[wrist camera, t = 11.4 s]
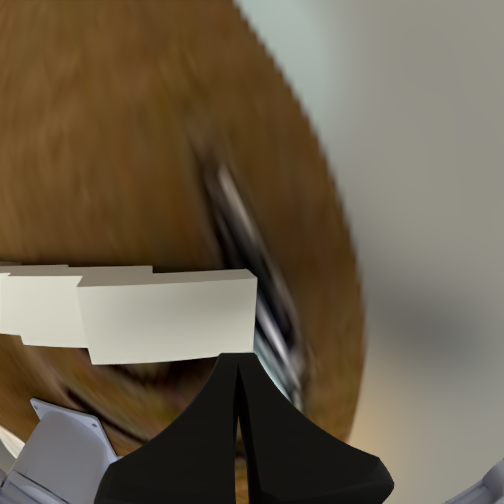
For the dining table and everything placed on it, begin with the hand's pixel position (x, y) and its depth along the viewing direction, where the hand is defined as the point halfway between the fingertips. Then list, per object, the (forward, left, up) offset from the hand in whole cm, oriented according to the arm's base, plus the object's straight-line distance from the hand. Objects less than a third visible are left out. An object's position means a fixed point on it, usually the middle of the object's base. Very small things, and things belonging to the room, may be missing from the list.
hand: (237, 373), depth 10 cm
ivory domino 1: (0, -1, -6) cm, 6 cm away
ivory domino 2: (0, +5, -6) cm, 7 cm away
